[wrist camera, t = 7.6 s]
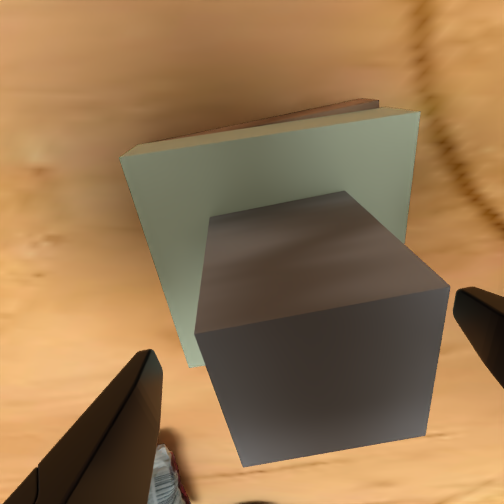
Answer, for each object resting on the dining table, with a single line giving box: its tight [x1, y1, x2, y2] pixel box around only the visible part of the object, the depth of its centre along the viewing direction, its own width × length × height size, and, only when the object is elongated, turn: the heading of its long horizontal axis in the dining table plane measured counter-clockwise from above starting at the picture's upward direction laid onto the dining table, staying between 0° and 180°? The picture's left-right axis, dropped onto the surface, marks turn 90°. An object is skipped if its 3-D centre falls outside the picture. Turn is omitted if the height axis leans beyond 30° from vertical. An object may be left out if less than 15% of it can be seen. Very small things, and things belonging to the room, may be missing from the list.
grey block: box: [194, 191, 450, 467], centre depth 10 cm, size 5×5×6 cm
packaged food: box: [147, 444, 191, 504], centre depth 24 cm, size 9×12×5 cm
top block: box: [119, 107, 420, 368], centre depth 14 cm, size 10×10×2 cm
